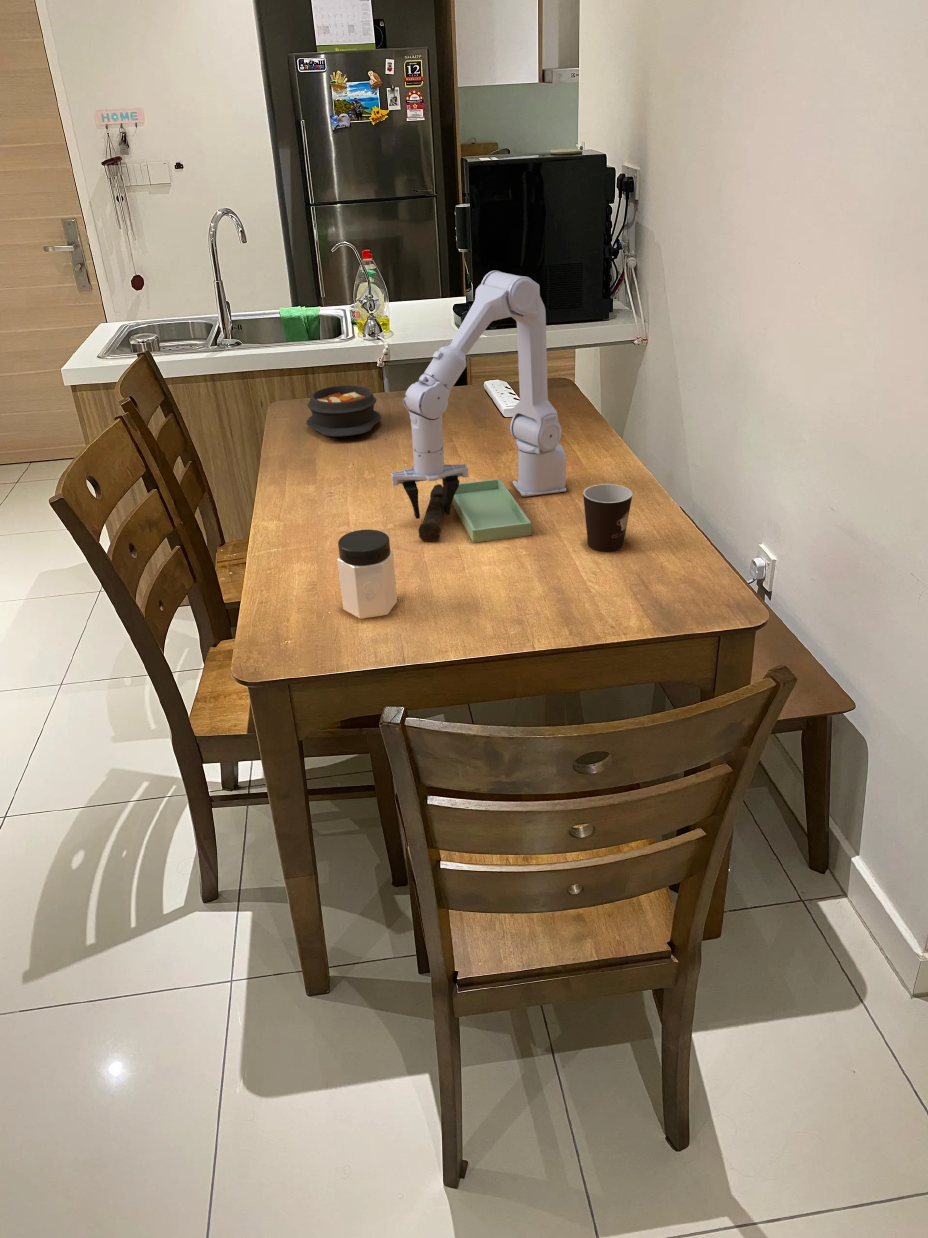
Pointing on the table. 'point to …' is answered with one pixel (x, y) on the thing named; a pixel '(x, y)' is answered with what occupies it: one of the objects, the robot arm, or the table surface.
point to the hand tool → (433, 515)
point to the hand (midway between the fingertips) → (432, 514)
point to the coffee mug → (606, 516)
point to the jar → (366, 573)
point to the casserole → (342, 411)
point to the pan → (489, 511)
